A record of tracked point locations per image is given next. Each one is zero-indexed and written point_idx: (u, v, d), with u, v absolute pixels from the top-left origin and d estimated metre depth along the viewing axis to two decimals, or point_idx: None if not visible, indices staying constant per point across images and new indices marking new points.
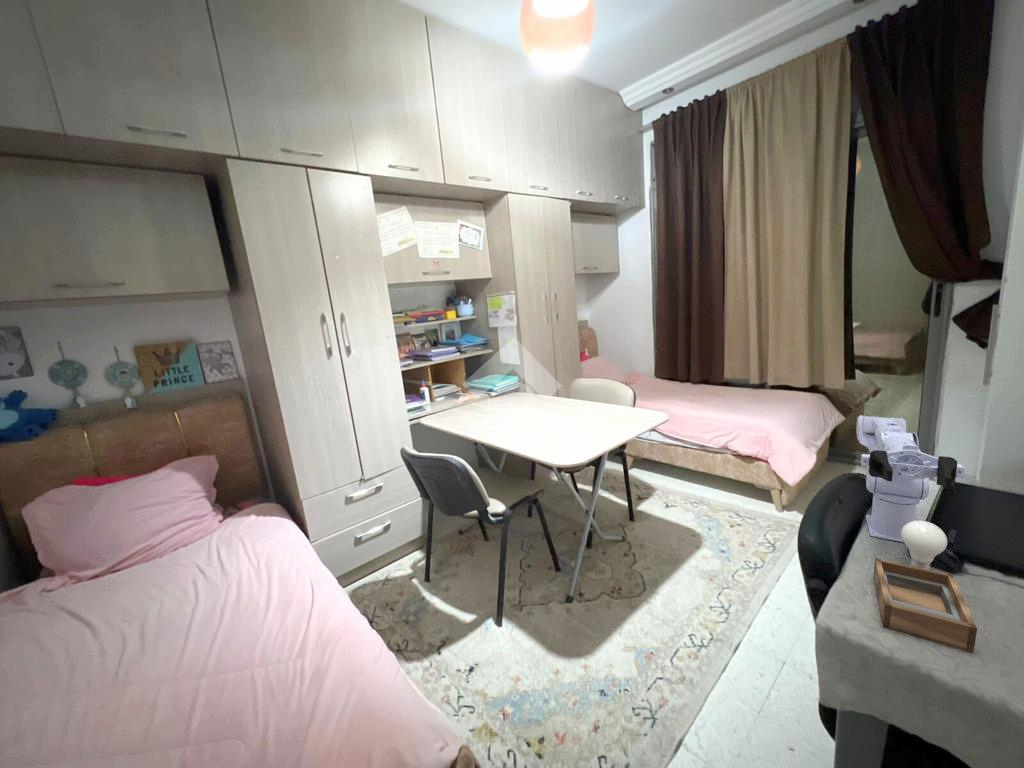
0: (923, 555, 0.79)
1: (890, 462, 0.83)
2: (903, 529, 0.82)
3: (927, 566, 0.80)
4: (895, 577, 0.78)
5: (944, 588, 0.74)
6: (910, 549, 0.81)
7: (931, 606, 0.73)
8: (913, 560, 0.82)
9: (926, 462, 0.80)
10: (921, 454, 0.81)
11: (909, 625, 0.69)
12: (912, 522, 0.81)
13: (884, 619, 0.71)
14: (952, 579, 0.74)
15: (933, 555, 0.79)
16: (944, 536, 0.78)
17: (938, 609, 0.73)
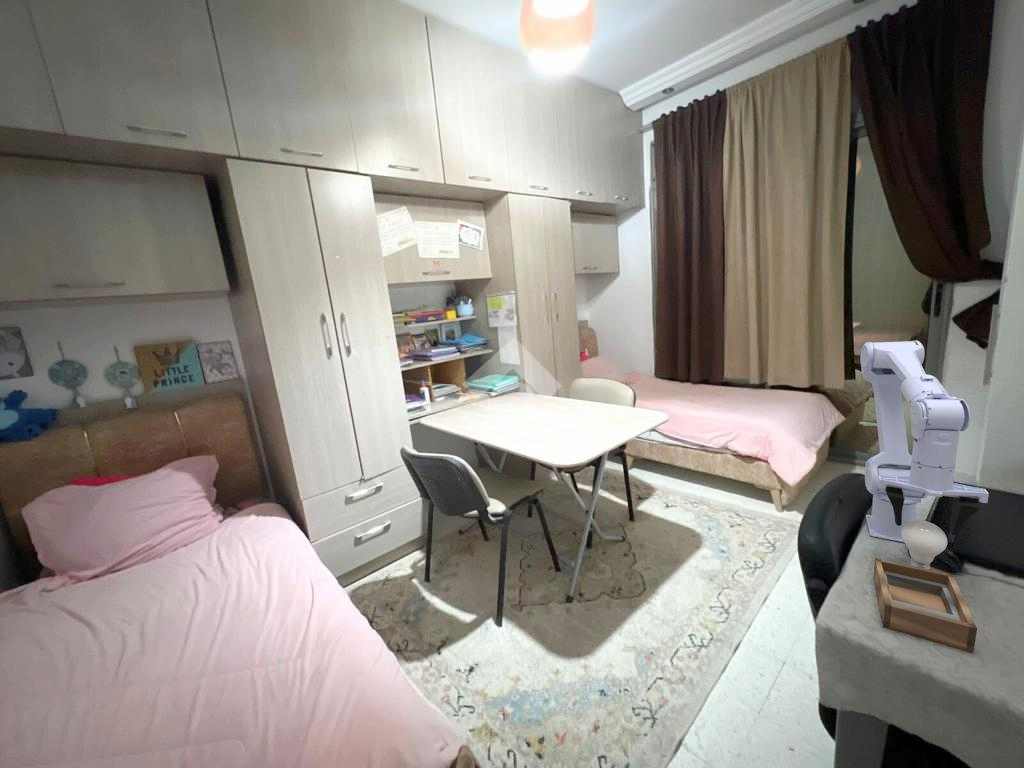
0: (923, 555, 0.79)
1: (908, 489, 0.80)
2: (903, 529, 0.82)
3: (927, 566, 0.80)
4: (895, 577, 0.78)
5: (944, 588, 0.74)
6: (910, 549, 0.81)
7: (931, 606, 0.73)
8: (913, 560, 0.82)
9: None
10: None
11: (909, 625, 0.69)
12: (912, 522, 0.81)
13: (884, 619, 0.71)
14: (952, 579, 0.74)
15: (933, 555, 0.79)
16: (944, 536, 0.78)
17: (938, 609, 0.73)
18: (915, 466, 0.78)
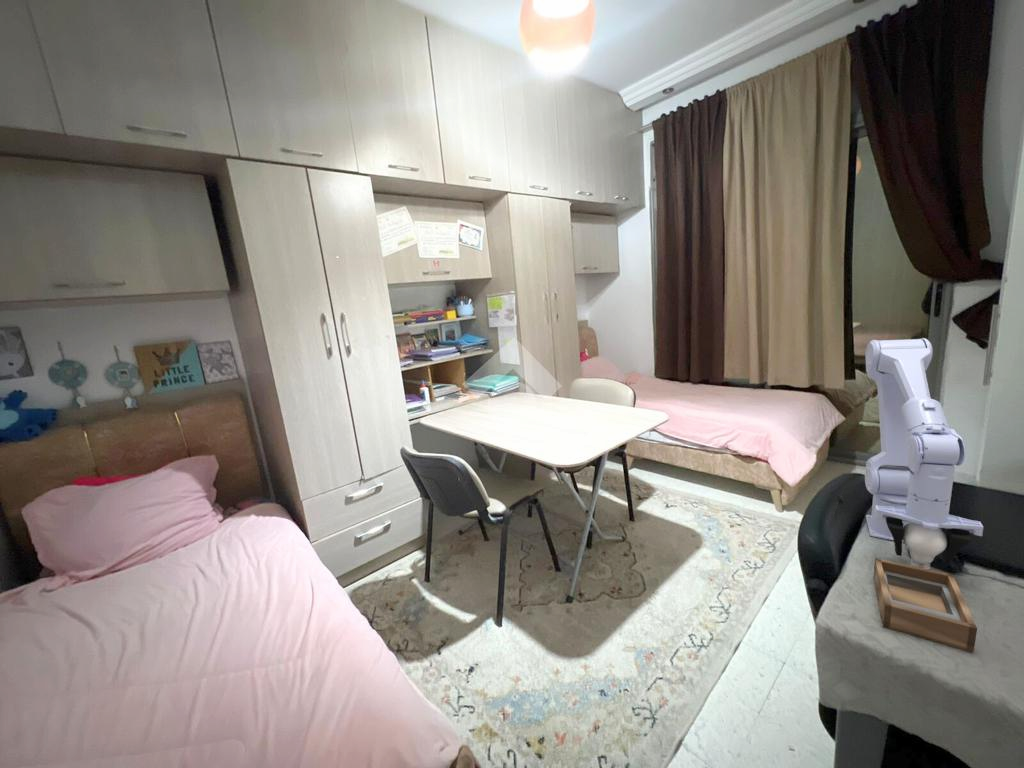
0: (923, 555, 0.79)
1: (905, 520, 0.81)
2: None
3: (927, 566, 0.80)
4: (895, 577, 0.78)
5: (944, 588, 0.74)
6: (910, 549, 0.81)
7: (931, 606, 0.73)
8: (913, 560, 0.82)
9: None
10: None
11: (909, 625, 0.69)
12: None
13: (884, 619, 0.71)
14: (952, 579, 0.74)
15: (933, 555, 0.79)
16: (944, 536, 0.78)
17: (938, 609, 0.73)
18: (911, 498, 0.79)
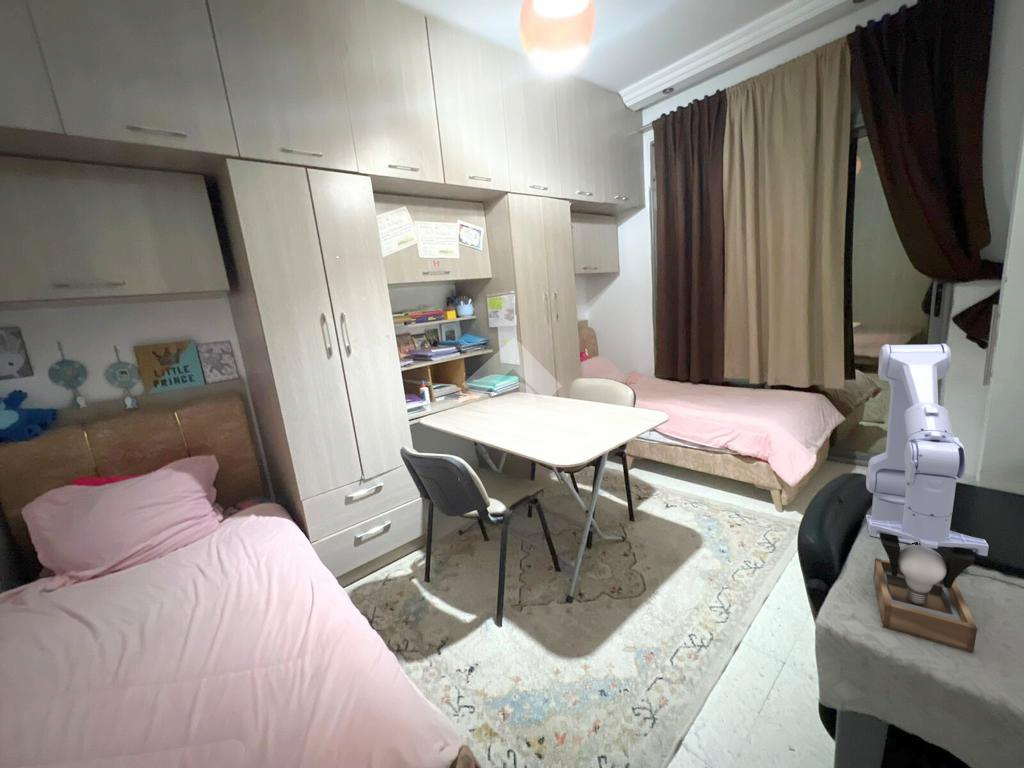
0: (918, 583, 0.72)
1: (901, 536, 0.73)
2: None
3: (924, 595, 0.73)
4: (895, 577, 0.78)
5: (944, 588, 0.74)
6: (905, 575, 0.74)
7: (931, 606, 0.73)
8: (909, 588, 0.74)
9: None
10: None
11: (909, 625, 0.69)
12: (908, 546, 0.74)
13: (884, 619, 0.71)
14: None
15: (930, 584, 0.71)
16: (943, 564, 0.70)
17: (938, 609, 0.73)
18: (908, 513, 0.71)
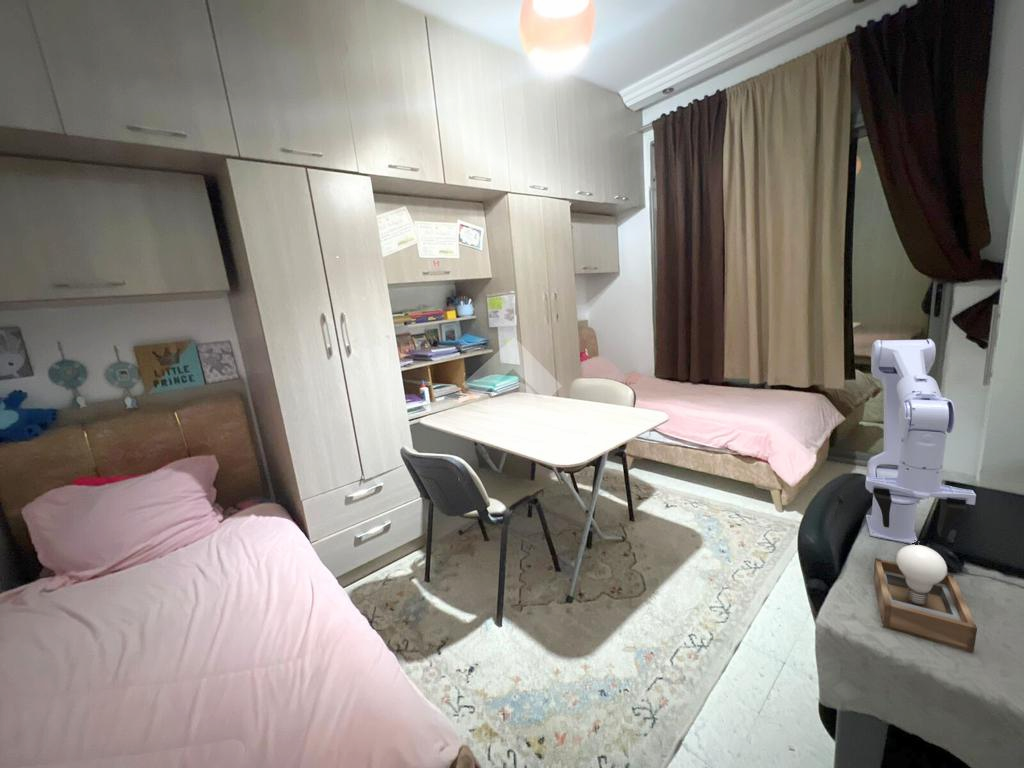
0: (918, 583, 0.72)
1: (896, 490, 0.79)
2: (898, 553, 0.74)
3: (924, 595, 0.73)
4: (895, 577, 0.78)
5: (944, 588, 0.74)
6: (905, 575, 0.74)
7: (931, 606, 0.73)
8: (909, 588, 0.74)
9: None
10: None
11: (909, 625, 0.69)
12: (908, 546, 0.74)
13: (884, 619, 0.71)
14: (952, 579, 0.74)
15: (930, 584, 0.71)
16: (943, 564, 0.70)
17: (938, 609, 0.73)
18: (902, 467, 0.77)
